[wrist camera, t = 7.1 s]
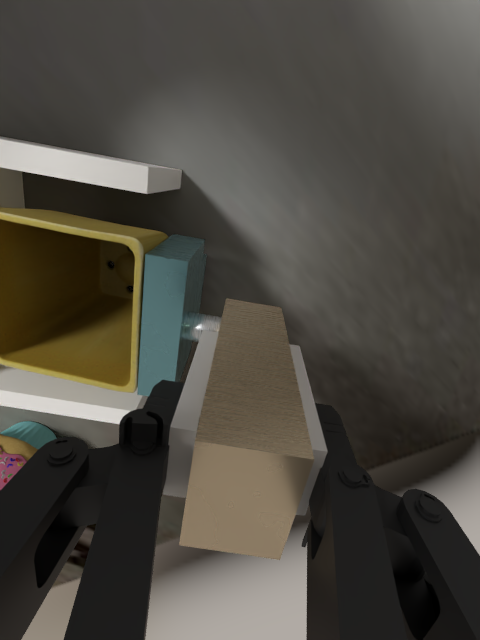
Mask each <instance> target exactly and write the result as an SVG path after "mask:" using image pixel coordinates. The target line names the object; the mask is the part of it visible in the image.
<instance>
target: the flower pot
mask: <svg viewBox="0 0 480 640" xmlns="http://www.w3.org/2000/svg"><path fill="white" fill-rule="evenodd" d="M167 238H169V237H168V236H167V235H166V234H165V233H163V232H160V231H155V230H149V229H143V228H138V227H132V226H127V225H121V224H116V223H111V222H106V221H101V220H96V219H92V218H87V217H82V216H77V215H73V214H68V213H64V212H59V211H52V210H43V209H22V208H4V207H0V364H2V365H5V366H9V367H13V368H16V369H20V370H24V371H29V372H34V373H38V374H43V375H47V376H51V377H55V378H61V379H65V380H70V381H74V382H78V383H83V384H87V385H92V386H96V387H100V388H104V389H108V390H113V391H118V392H127V393H134V392H135V391H136V389H137V387H138V374H139V357H140V339H141V322H142V305H143V288H144V271H145V254H146V253H148V252H149V251H151V250H152V249H153V248H155V247H156V246H158V245H159V244H160V243H162V242H163V241H164V240H166V239H167ZM129 248H130V249H131V250H132V251H131V250H130V249H129ZM109 261H112V262H113V263H114V268H110V267H109V266H108V262H109ZM129 285H131V286H133V287H134V291H133V292H129V291H128V289H127V287H128V286H129Z"/></svg>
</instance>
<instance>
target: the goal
mask: <svg viewBox="0 0 480 640" xmlns="http://www.w3.org/2000/svg"><path fill="white" fill-rule="evenodd" d="M22 171H23V172H29V173H34V174H40V175H45V176H51V177H56V178H62V179H67V180H73V181H78V182H84V183H89V184H95V185H100V186H105V187H111V188H116V189H122V190H127V191H133V192H138V193H144V194H150V193H157V192H163V191H169V190H175V189H180V187H181V176H182V170H180V169H174V168H169V167H163V166H158V165H153V164H147V163H142V162H136V161H131V160H126V159H120V158H115V157H110V156H104V155H99V154H93V153H88V152H83V151H77V150H72V149H66V148H61V147H56V146H50V145H45V144H40V143H34V142H29V141H23V140H18V139H13V138H7V137H2V136H0V207H4V208H22V209H25V202H24V190H23V178H22ZM137 391H138V387H137V389H136V391H135V392H134V393H127V392H118V391H113V390H108V389H104V388H100V387H96V386H92V385H87V384H83V383H78V382H74V381H70V380H65V379H61V378H55V377H51V376H47V375H43V374H38V373H34V372H29V371H24V370H20V369H16V368H13V367H9V366H5V365H2V364H0V405H2V406H8V407H14V408H21V409H27V410H33V411H40V412H46V413H52V414H58V415H65V416H71V417H77V418H84V419H90V420H96V421H103V422H109V423H115V424H120V421H121V419H122V418H123V416H125V415H126V414H127V413H129V412H130V411H133V410H136V409H142V408H143V406H144V404H145V402H146V400H147V398H148V396H142V395H137Z"/></svg>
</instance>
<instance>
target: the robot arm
mask: <svg viewBox="0 0 480 640" xmlns="http://www.w3.org/2000/svg"><path fill="white" fill-rule="evenodd" d="M218 333H219V332H213V331H207V330H203V331H202V334H201V337H200V340H199V343H198V346H197V349H196V352H195V355H194V358H193V361H192V363H191V366H190V369H189V372H188V375H187V378H186V381H185V383H181V382H174V381H168V380H161V381H160V382H159V383H157V384H156V385H155V386H154V387H153V389H152V391H151V393H150V395H149V397H148V399H147V401H146V404H145V405H144V407H143V409H136V410H133V411H130V412H129V413H127V414H126V415H125V416H123V418H122V419H121V421H120V428H119V444H116V445H113V446H110V447H104V448H95V449H88V446H87V445H86V443H85V442H84V441H83V440H80V439H78V438H75V437H63V438H58V439H54V440H52V441H50V442H48V443H46V444H45V445H43V446H42V447H41V448H40V449H38V450H37V451H36V453H35V454H34V455H33V456H32V457H31V458H30V459H29V460H28V461H27V462H26V463H25V464H24V466H23V467H22V468H21V469H20V470H19V471H18V472H17V473H16V474H15V475H14V476H13V477H12V479H11V480H10V481H9V482H8V483H7V484H6V485H5V486H4V487H3V488H2V489H1V490H0V640H21V639H22V637H23V635H24V634H25V632H26V630H27V628H28V627H29V625H30V623H31V622H32V619H33V618H34V616H35V615H36V613H37V611H38V609H39V608H40V606H41V604H42V602H43V601H44V599H45V597H46V596H47V593H48V592H49V590H50V589H51V587H52V585H53V583H54V582H55V580H56V578H57V577H58V575H59V573H60V571H61V570H62V568H63V566H64V564H65V563H66V561H67V559H68V557H69V556H70V554H71V552H72V551H73V549H74V547H75V545H76V544H77V542H78V540H79V538H80V537H81V535H82V533H83V531H84V530H85V528H86V526H87V525H91V524H96V528H95V531H94V535H93V538H92V542H91V545H90V549H89V552H88V556H87V559H86V563H85V567H84V570H83V574H82V577H81V581H80V584H79V588H78V591H77V595H76V598H75V602H74V606H73V609H72V612H71V616H70V620H69V623H68V626H67V630H66V633H65V637H64V640H145V636H146V627H147V618H148V609H149V600H150V591H151V582H152V574H153V565H154V556H155V547H156V538H157V529H158V520H159V511H160V501H161V496H162V492H163V494H164V495H170V496H177V497H184V498H186V496H187V490H188V483H189V477H190V470H191V463H192V457H193V450H194V444H195V438H196V434H197V429H198V425H199V420H200V415H201V411H202V406H203V402H204V397H205V393H206V388H207V384H208V379H209V374H210V370H211V365H212V361H213V356H214V352H215V347H216V342H217V338H218ZM289 345H290V350H291V354H292V359H293V363H294V368H295V373H296V377H297V382H298V386H299V391H300V396H301V400H302V405H303V409H304V414H305V418H306V423H307V428H308V432H309V437H310V441H311V446H312V451H313V455H314V462H313V465H312V468H311V471H310V474H309V477H308V480H307V483H306V486H305V488H304V491H303V494H302V497H301V500H300V503H299V506H298V509H297V512H296V515H303V516H305V514H306V511H307V509H308V506H309V505H310V511H311V516H312V517H311V520H310V522H309V525H308V528H307V530H306V533H305V536H304V539H303V542H302V547H305V546H306V543H307V640H480V556H479V554H478V553H477V551H476V550H475V548H474V547H473V545H472V544H471V542H470V541H469V539H468V538H467V536H466V535H465V533H464V532H463V530H462V529H461V527H460V526H459V524H458V523H457V521H456V520H455V518H454V517H453V515H452V514H451V512H450V511H449V510H448V509H447V507H446V506H445V505H444V504H443V503H442V502H441V501H440V500H438V499H437V498H436V497H435V496H433V495H431V494H429V493H427V492H425V491H421V490H417V489H412V490H408V491H407V492H405V493H404V495H403V497H399V496H397V495H395V494H392V493H390V492H388V491H385V490H383V489H381V488H379V487H377V486H375V485H374V483H373V481H372V479H371V477H370V475H369V474H368V473H367V472H366V471H365V470H364V469H363V468H361V467H360V466H359V465H357V463H356V460H355V457H354V454H353V451H352V449H351V446H350V443H349V440H348V437H347V435H346V432H345V429H344V427H343V423H342V420H341V418H340V415H339V414H338V413H337V412H336V411H335V409H334V408H333V407H332V406H329V405H323V404H317V403H315V402H314V399H313V395H312V391H311V387H310V384H309V380H308V376H307V372H306V369H305V365H304V361H303V357H302V353H301V350H300V346H297V345H291V344H289ZM163 489H164V491H163Z"/></svg>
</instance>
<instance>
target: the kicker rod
mask: <svg viewBox="0 0 480 640" xmlns="http://www.w3.org/2000/svg"><path fill="white" fill-rule="evenodd" d="M204 243H205V239H199V238H193V237H188V236H182V235H177V234H173V235H171V236H170V237H169V238H167V239H166V240H164V241H163V242H162V243H160V244H159V245H158V246H156V247H155V248H153V249H152V250H151V251H149V252H148V253H146V254H145V271H144V288H143V305H142V322H141V339H140V357H139V374H138V391H137V395H142V396H148V397H149V395H150V393H151V391H152V389H153V387H154V386H155V385H156V384H157V383H159V382H160V381H161V380H168V381H174V382H180V379H181V376H182V373H183V370H184V368H185V365H186V362H187V359H188V357H189V354H190V351H191V345H192V341H193V342H199V340H200V337H201V334H202V331H203V330H207V331H213V332H219V333H218V338H217V342H216V347H215V352H214V356H213V361H212V365H211V370H210V374H209V379H208V384H207V388H206V393H205V397H204V402H203V406H202V411H201V415H200V420H199V425H198V429H197V434H196V438H195V444H194V450H193V457H192V463H191V470H190V477H189V483H188V490H187V496H186V503H185V510H184V516H183V523H182V529H181V536H180V543H179V545H182V546H189V547H196V548H203V549H210V550H216V551H223V552H230V553H237V554H243V555H250V556H258V557H264V558H271V559H277V560H280V558H281V555H282V552H283V549H284V546H285V543H286V541H287V537H288V535H289V532H290V529H291V526H292V523H293V520H294V517H295V515H296V512H297V509H298V506H299V503H300V500H301V497H302V494H303V491H304V488H305V486H306V483H307V480H308V477H309V474H310V471H311V468H312V465H313V462H314V455H313V451H312V446H311V441H310V437H309V432H308V428H307V423H306V418H305V414H304V409H303V405H302V400H301V396H300V391H299V386H298V382H297V377H296V373H295V368H294V363H293V359H292V354H291V350H290V345H289V340H288V336H287V331H286V327H285V322H284V318H283V313H282V308H280V307H274V306H269V305H263V304H257V303H251V302H245V301H240V300H234V299H228V298H226V301H225V306H224V311H223V315H222V317H218V316H212V315H206V314H200V313H199V310H200V303H201V295H202V288H203V280H204V273H205V265H206V258H207V254H203V251H204Z"/></svg>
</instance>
